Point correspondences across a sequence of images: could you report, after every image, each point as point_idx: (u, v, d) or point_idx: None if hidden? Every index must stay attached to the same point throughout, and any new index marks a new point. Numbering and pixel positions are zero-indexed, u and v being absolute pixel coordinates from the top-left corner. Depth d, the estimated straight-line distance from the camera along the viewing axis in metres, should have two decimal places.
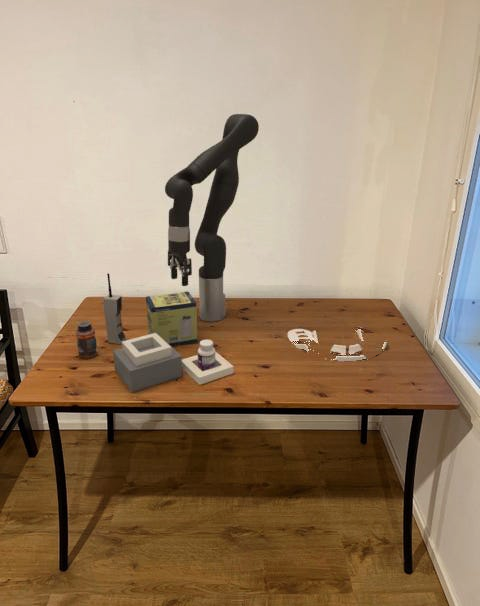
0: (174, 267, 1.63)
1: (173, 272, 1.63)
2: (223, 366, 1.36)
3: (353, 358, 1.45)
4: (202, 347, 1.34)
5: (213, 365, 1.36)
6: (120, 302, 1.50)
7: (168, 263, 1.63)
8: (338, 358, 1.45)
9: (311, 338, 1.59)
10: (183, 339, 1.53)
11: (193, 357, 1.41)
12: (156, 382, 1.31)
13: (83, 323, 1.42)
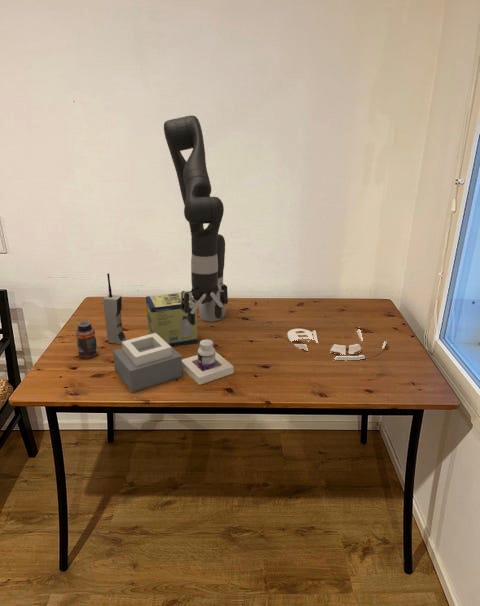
0: None
1: None
2: (223, 366, 1.36)
3: (353, 358, 1.45)
4: (202, 347, 1.34)
5: (213, 365, 1.36)
6: (120, 302, 1.50)
7: (187, 310, 1.26)
8: (338, 358, 1.45)
9: (311, 338, 1.59)
10: (183, 339, 1.53)
11: (193, 357, 1.41)
12: (156, 382, 1.31)
13: (83, 323, 1.42)
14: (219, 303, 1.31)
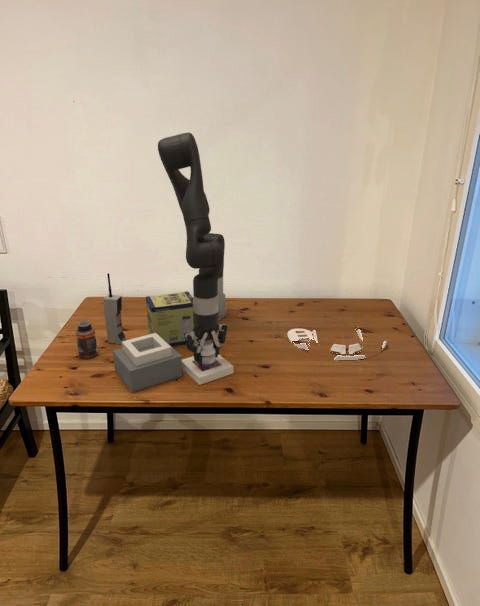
0: None
1: None
2: (223, 366, 1.36)
3: (353, 357, 1.45)
4: (202, 347, 1.34)
5: (213, 365, 1.36)
6: (120, 302, 1.50)
7: (193, 349, 1.31)
8: (338, 357, 1.45)
9: (311, 337, 1.59)
10: (183, 339, 1.53)
11: (193, 357, 1.41)
12: (156, 382, 1.31)
13: (83, 323, 1.42)
14: (216, 343, 1.36)
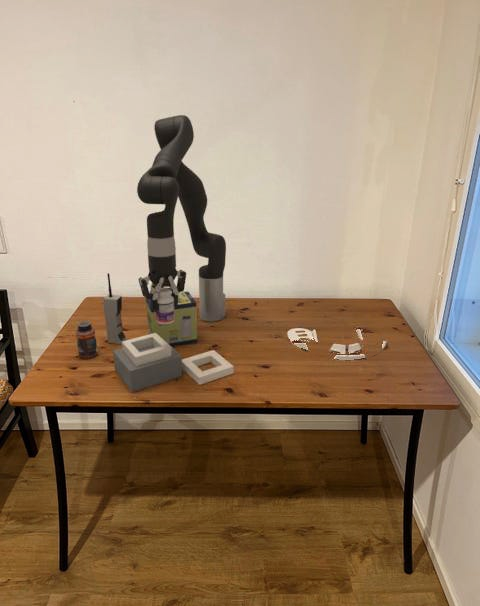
0: None
1: None
2: (223, 366, 1.36)
3: (353, 357, 1.45)
4: (159, 294, 1.25)
5: (171, 314, 1.28)
6: (120, 302, 1.50)
7: (148, 296, 1.23)
8: (338, 357, 1.45)
9: (311, 337, 1.60)
10: (183, 339, 1.53)
11: (193, 357, 1.41)
12: (156, 382, 1.31)
13: (83, 323, 1.42)
14: (175, 291, 1.27)
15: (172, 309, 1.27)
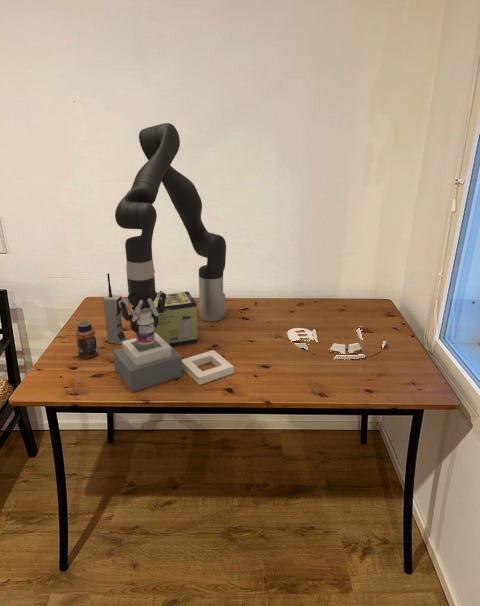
0: None
1: None
2: (223, 366, 1.36)
3: (352, 357, 1.45)
4: (139, 315, 1.27)
5: (151, 335, 1.30)
6: None
7: (127, 317, 1.25)
8: (338, 357, 1.46)
9: (311, 337, 1.60)
10: (183, 339, 1.53)
11: (193, 357, 1.41)
12: (156, 382, 1.31)
13: (83, 323, 1.42)
14: (154, 312, 1.29)
15: (152, 330, 1.30)
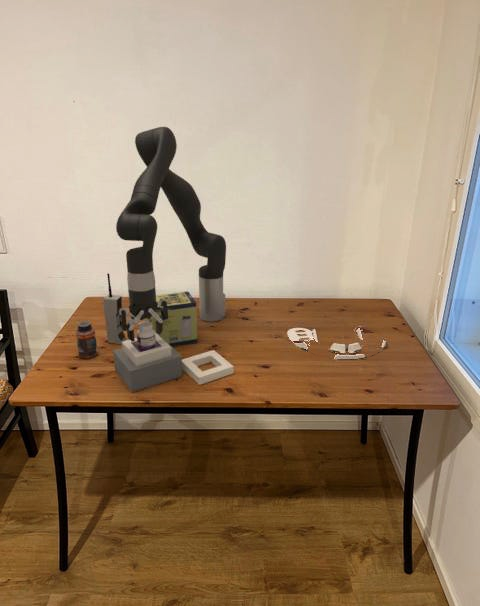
0: None
1: None
2: (223, 366, 1.36)
3: (352, 357, 1.46)
4: (140, 328, 1.29)
5: (153, 347, 1.32)
6: (120, 302, 1.50)
7: (124, 327, 1.25)
8: (337, 357, 1.46)
9: (311, 337, 1.60)
10: (183, 339, 1.53)
11: (193, 357, 1.41)
12: (156, 382, 1.31)
13: (83, 323, 1.42)
14: (159, 319, 1.31)
15: (153, 342, 1.31)
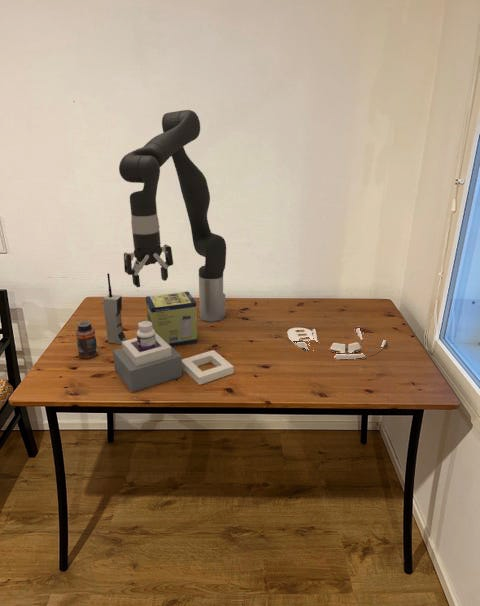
0: None
1: None
2: (223, 366, 1.36)
3: (352, 356, 1.46)
4: (140, 328, 1.29)
5: (153, 347, 1.32)
6: (120, 302, 1.50)
7: (130, 271, 1.26)
8: (337, 356, 1.46)
9: (311, 336, 1.60)
10: (183, 339, 1.53)
11: (193, 357, 1.41)
12: (156, 382, 1.31)
13: (83, 323, 1.42)
14: (164, 265, 1.31)
15: (153, 342, 1.31)
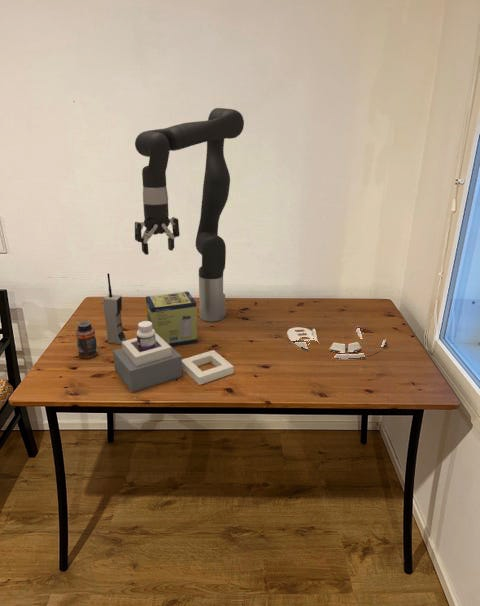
0: None
1: None
2: (223, 366, 1.36)
3: (352, 356, 1.46)
4: (140, 328, 1.29)
5: (153, 347, 1.32)
6: (120, 302, 1.50)
7: (140, 239, 1.37)
8: (337, 356, 1.46)
9: (311, 336, 1.60)
10: (183, 339, 1.53)
11: (193, 357, 1.41)
12: (156, 382, 1.31)
13: (83, 323, 1.42)
14: (171, 235, 1.43)
15: (153, 342, 1.31)
